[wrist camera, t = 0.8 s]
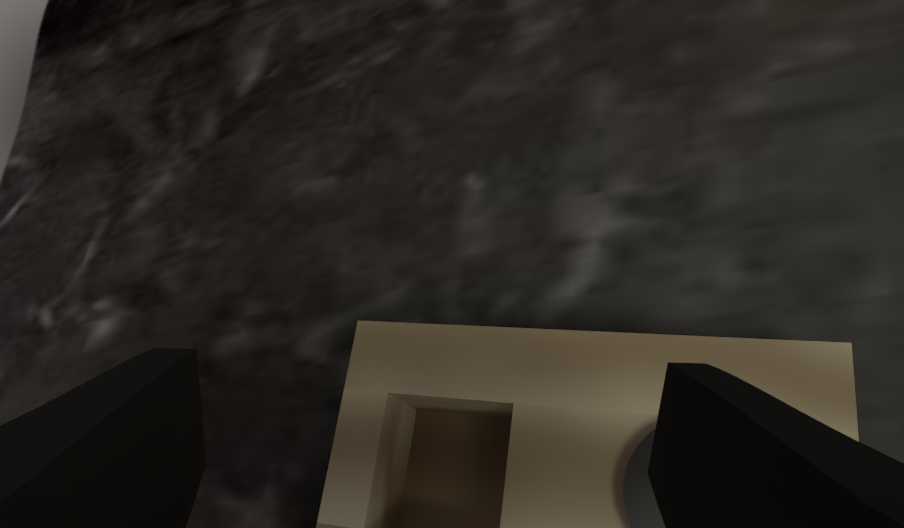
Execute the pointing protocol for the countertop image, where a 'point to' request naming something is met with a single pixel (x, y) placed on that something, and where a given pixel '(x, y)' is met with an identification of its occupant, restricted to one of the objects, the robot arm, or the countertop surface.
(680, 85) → the countertop surface
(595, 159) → the countertop surface
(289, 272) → the countertop surface
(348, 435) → the bore block
